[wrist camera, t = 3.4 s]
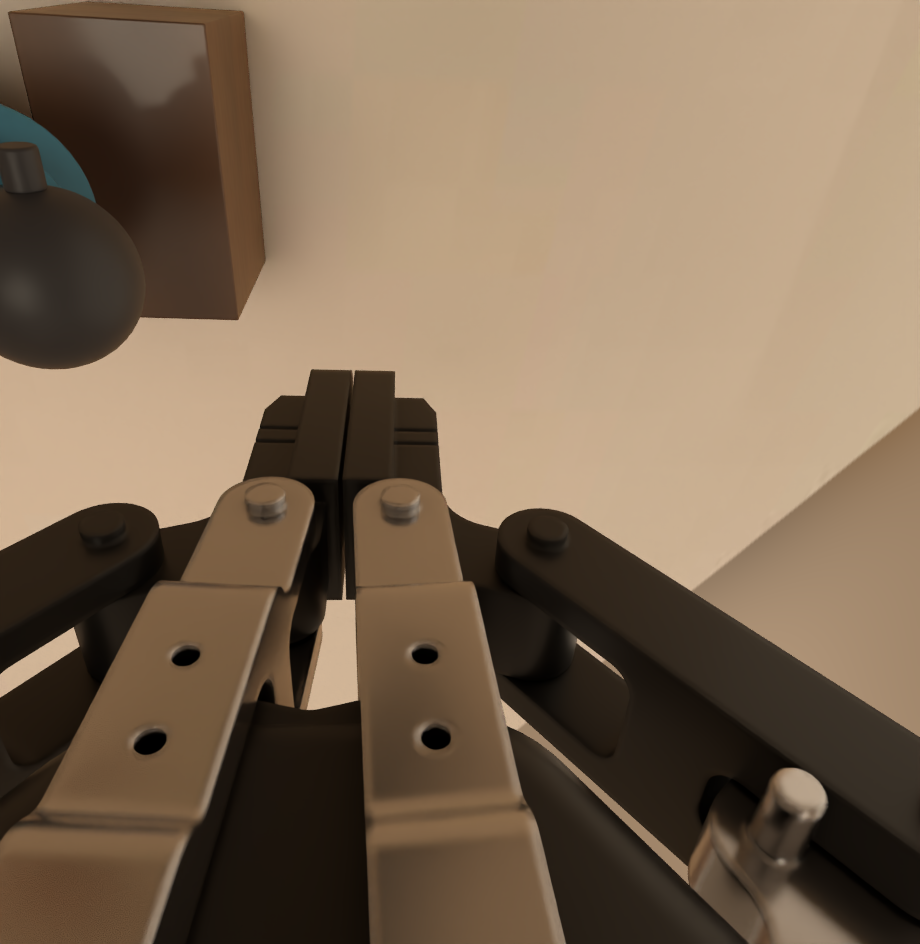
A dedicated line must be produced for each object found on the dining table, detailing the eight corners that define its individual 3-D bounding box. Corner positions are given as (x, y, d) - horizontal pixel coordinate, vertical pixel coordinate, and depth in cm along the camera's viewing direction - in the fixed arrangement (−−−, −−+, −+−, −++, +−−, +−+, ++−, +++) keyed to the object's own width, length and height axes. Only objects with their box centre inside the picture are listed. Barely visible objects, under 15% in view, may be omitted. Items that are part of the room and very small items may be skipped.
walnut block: (132, 257, 35) (78, 316, 29) (85, 1, 29) (6, 11, 23) (265, 261, 35) (238, 320, 30) (244, 11, 30) (205, 23, 24)
